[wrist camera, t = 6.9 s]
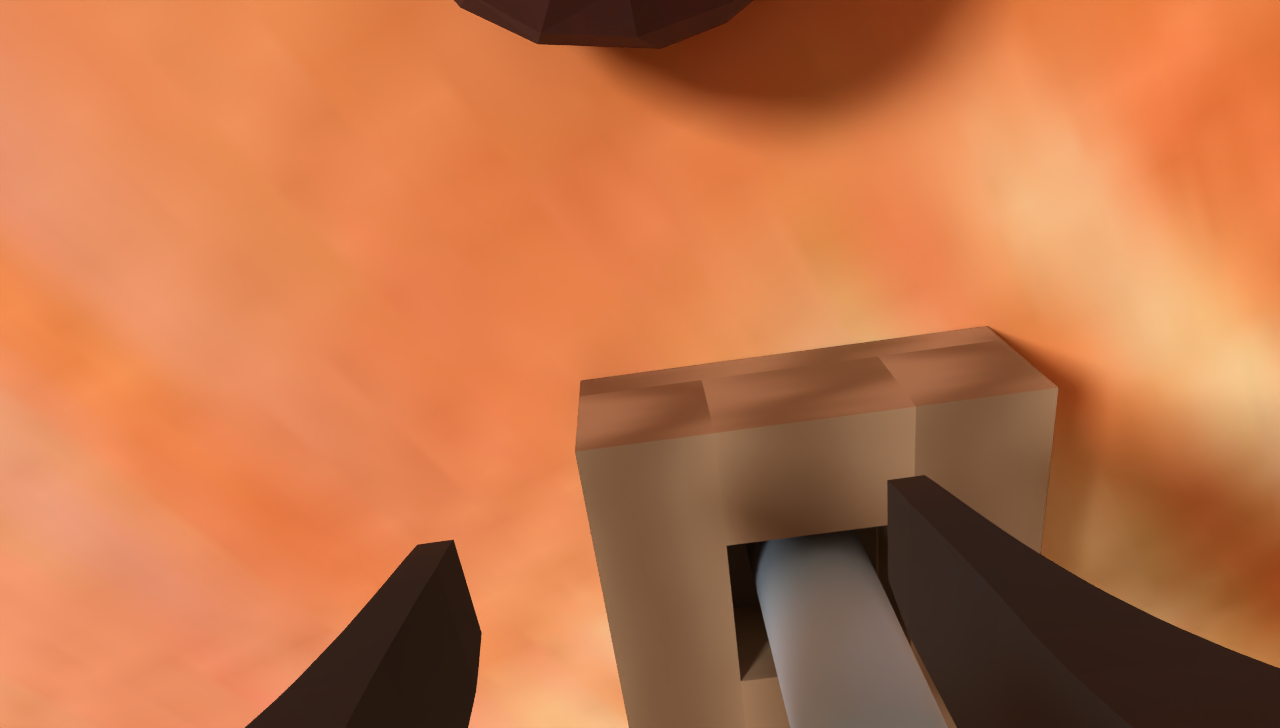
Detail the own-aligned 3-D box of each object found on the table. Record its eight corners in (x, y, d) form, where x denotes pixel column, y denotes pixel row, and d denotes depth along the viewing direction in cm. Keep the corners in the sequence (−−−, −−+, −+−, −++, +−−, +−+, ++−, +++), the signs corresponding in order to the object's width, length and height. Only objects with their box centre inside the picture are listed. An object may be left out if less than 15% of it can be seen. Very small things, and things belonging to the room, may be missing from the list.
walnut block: (986, 326, 23) (1058, 388, 19) (967, 634, 28) (1021, 729, 24) (580, 380, 23) (574, 451, 19) (634, 676, 28) (638, 776, 24)
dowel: (848, 484, 24) (952, 696, 16) (859, 570, 25) (961, 802, 18) (737, 506, 24) (792, 727, 17) (755, 591, 25) (813, 828, 18)
